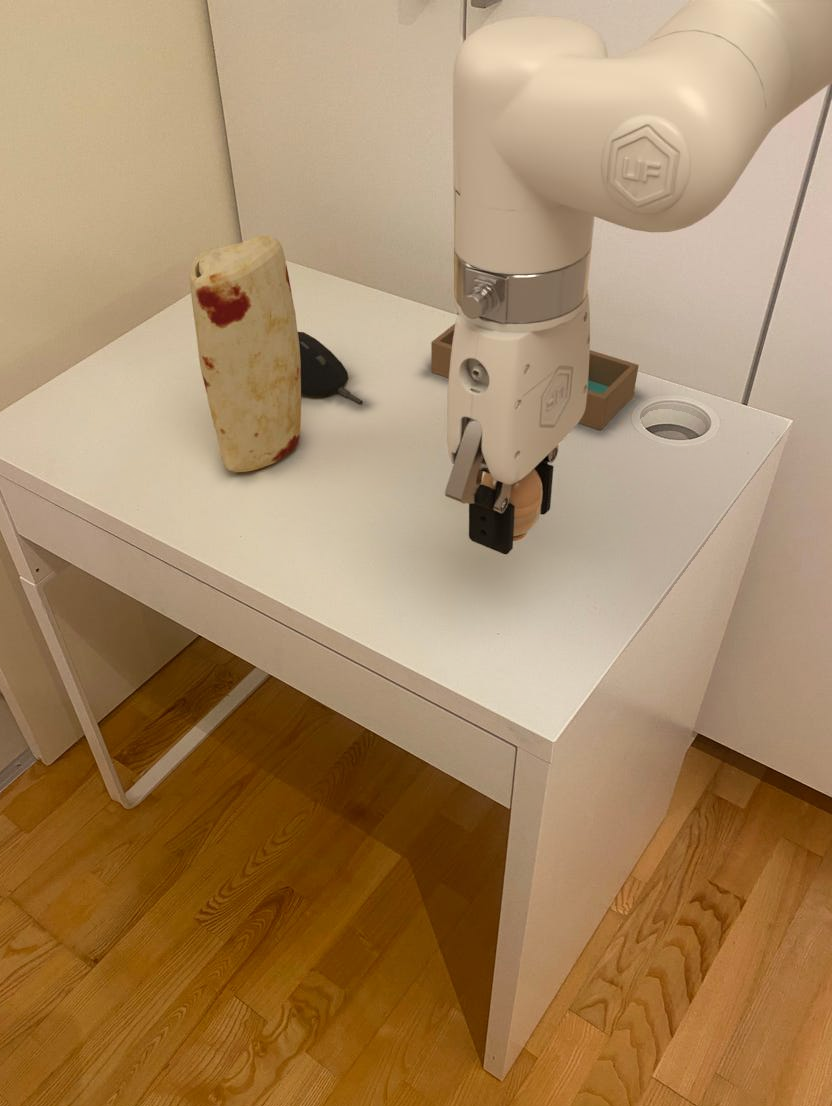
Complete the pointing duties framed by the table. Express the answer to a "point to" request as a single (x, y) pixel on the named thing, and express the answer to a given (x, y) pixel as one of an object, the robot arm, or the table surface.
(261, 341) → the food model
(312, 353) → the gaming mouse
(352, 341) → the table surface
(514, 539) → the egg
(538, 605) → the table surface
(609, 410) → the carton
